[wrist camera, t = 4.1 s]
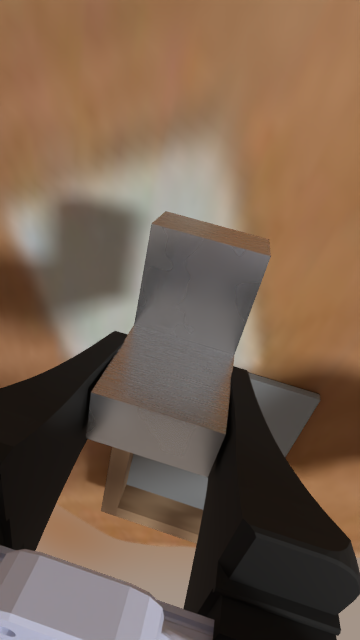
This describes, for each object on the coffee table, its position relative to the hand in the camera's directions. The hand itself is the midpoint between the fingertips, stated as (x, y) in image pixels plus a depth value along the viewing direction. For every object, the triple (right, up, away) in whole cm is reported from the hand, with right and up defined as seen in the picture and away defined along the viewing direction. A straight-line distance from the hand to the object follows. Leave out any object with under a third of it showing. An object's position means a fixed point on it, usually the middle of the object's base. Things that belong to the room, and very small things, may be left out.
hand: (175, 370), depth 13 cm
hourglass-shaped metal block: (+1, +3, +1) cm, 3 cm away
